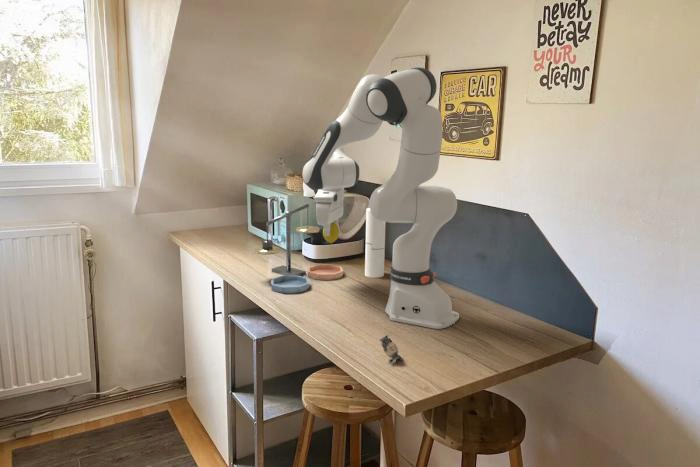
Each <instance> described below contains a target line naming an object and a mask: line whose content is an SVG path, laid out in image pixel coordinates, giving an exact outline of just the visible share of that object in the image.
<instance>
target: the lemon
mask: <svg viewBox="0 0 700 467" xmlns="http://www.w3.org/2000/svg"><path fill="white" fill-rule="evenodd" d="M330 230H331V235H330V236H325V230H324V227H323V229H322V236H323V239H324V240H325V241H327V242H328V243H329V244H333V243H334V242H335V241H336V240H338V238H339V235H340V231H339V230H340V229H339V226H338V224H337V225H336V224H335V223H334V222H332V223H331V226H330Z"/></svg>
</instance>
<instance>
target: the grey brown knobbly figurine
mask: <svg viewBox="0 0 700 467" xmlns="http://www.w3.org/2000/svg"><path fill="white" fill-rule="evenodd" d="M379 342H381V344H380V345H381V347H382V348H383V352H384V354H385V355H386V356H387V357H389V358H391V359H392V361H391V362H390V366H392V365H393V364H396V362H397V360H400V361H403V360H404V356H405V354H403V355H401V354H399V347H398V346H397V344H396V343H395V342H393V340H392V339H391V338H389V334H387V335H386V334H385V336H383V337H381V338H380V339H379Z"/></svg>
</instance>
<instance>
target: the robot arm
mask: <svg viewBox="0 0 700 467" xmlns="http://www.w3.org/2000/svg"><path fill="white" fill-rule="evenodd" d="M437 88H438V86H437V80H436V77H435V76H434V74H433V73H432V72H431V71H430V70H429V69H427V68H425V67H410V68H409V69H406V70H401V71H396V72H393V73H391V74H388V75H387V76H381V75H379V74H375V73H374V74H372V73H371V74H367V75H365V76H364V77H362V78H361V79H360V81H359V82H358V84H357V86H356V88H355V90H354V91H353V93H352V95H351V97H350V100H349V102H348V105H347V107H346V109H345V110H344V111H343V112H342V114H341V115H339V117H337V119H334V120H333V121H332V122H331V123H330V124H329V125H328V127H327V128H326V129H325V131H324V133H323V135H322V136H321V138H320V140H319V142H318V143H317V145H316V147H315V149H314V151H313V152H312V154H311V155H310V157H309V158H308V159H307V160H306V162H305V163H304V164H303V168H302V171H301V172H302V173H301V178H302V181H303V183H304V184H305V185H306V186H307V187H308V188H309V189H310V190H312V191H317V192H316V193H315V195H314V202H315V203H316V205H315V211H316V212H315V214H316V223H317V225H319V226H322V227H323V228H324V230H325V236H330V235H331V230H330V226H331V223H332V222H334V223H335V224H336V225H337V226H338V223H339V219H340V218H342V217H343V216H344V200H345V188H351V187H354V186H355V185H356V184H357V183H358V181H359V179H360V166H359V164H358V163H357V162H356V160H354V159H353V158H350V157H349V156H348V155H346V154H345V152H344V148H343V147H344V145H348V144H351V143H356V142H360V141H363V140H367V139H371V138H372V137H373V136H374V135H376V133H377V132H378V130H379V129H380V127H381V126H382V124H383V121H384V122H387V123H388V124H389V125H390V126H398V125H399V124H400V126H401V141H400V147H399V148H400V149H399V155H398V160H397V161H398V162H397V164H396V165H397V166H396V168H395V170H394V172H393V174H392V175H391V177H389V179H388V180H387V181H386V182H385V183H383V184H381V185H380V186H378V187H377V188H375V189H374V190H373V192H372V193H371V195H370V198H369V203H368V204H369V207H368V208H370V211H371V213H372V215H373V216H374V218H375V219H376V220H380V221H384V222H386V223H390V224H413V225H412V227H411V229H410V230H408V232H405V233H403V234H401V235H399V236H398V237H397V238H396V239H395V240H394V242H393V243H392V244H393V245H392V261H391V262H392V263H391V266H390V275H389V276H390V277H389V278H390V289H389V295H388V300H387V303H386V307H385V309H384V311H385V313H386V314H387V315H388V318H389V320H390V321H393V322H398V323H403V324H409V325H412V326H413V325H414V326H420V327H425V328H428V329H429V328H430V329H434V330H436V329H437V330H441V329H445V328H448V327H450V325H451V326H452V324H453V325H454V324H456V323H457V322H458V321H459V320H458V319H460V313H459V312H457V311H454V310H453V306H452V304H453V303H452V299H451V297H450V296H449V295H448V294H447V293H446V292H445V291H444V290H443V289H442V288H441V287H440V286H439V285H438V283H436V282H435V281H434V279H435V278H434V277H436V276H437V272H436V271H435V272H433V271H432V270H431V268H430V258H431V250H432V248H431V247H432V243H433V241H434V238H435V237H436V235H437V233H438V232H439V230H440V229H441V228H442V227H443V226H444V225H445V224H447V223H448V222H449V221H451V220H452V219H453V218H454V216H455V214H456V213H457V209H458V200H457V196H456V194H455V192H454V191H453V190H452V189H451V188H446V187H444V186H443V187H442V186H437V185H422V184H424V183H426V182H428V181H430V180H431V179H433V178H434V176H436V174H437V172H438V169H439V165H440V157H441V150H442V145H443V132H444V131H443V125H444V124H443V115H442V113H441V112H440V110H439V109H438V108H437V107H434V106H433V105H429V104H428V103H430V102H431V101H432V99H434V97H435V95H436V93H437ZM342 146H343V147H342ZM457 320H458V321H457ZM456 321H457V322H456ZM455 322H456V323H455Z"/></svg>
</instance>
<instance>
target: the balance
mask: <svg viewBox="0 0 700 467" xmlns="http://www.w3.org/2000/svg"><path fill="white" fill-rule="evenodd" d="M309 207H310V204H309V203H307V204H304V205H302V206H300V207H297V208H295V209H293V210H290V211H289V210H287V211H285V212H284V214H282V215H280V216H279V215H278V216H277V217H275V218H273V219H271V220H268V221H266V222H265V225H266V239H263V240H262V244H261V245H262V246H257V247H255V248H254V253H256V254H257V255H276V254H279V253H280V252H281V248H280V247H279V246H274V245H273V243H274V242H273V240H272V239H269V228H268V227H269V225H272V224H273V223H276V222H278V221H280V220H284V219H285V225H286V226H285V234H286V235H285V236H286V237H285V238H286V239H285V242H286V245H285V246H286V253H285V254H286V264H285V265H280V266H275V267H273V268H271V273H275V274H277V275H279V274H280V275H281V276H301V277H303V276H304V275H307V271H306V270H302V269H299V268H294V267H292V264H291V263H292V262H291V261H292V259H291V258H292V257H291V256H292V253H291V252H292V250H291V249H292V247H291V246H292V244H291V243H292V241H291V239H292V238H291V235H292V234H291V229H292V228H291V217H292V215H294V214H296V213H298V212H301V211H302V210H305V209H306V210H307V211H306V214H307V215H306V222H307V223H306V225H304V226H303V225H301V226H297V227H296V228H295V231H296V232H297V233H302V234H313V233H319V232H320V227H318V226H313V225H309Z"/></svg>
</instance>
